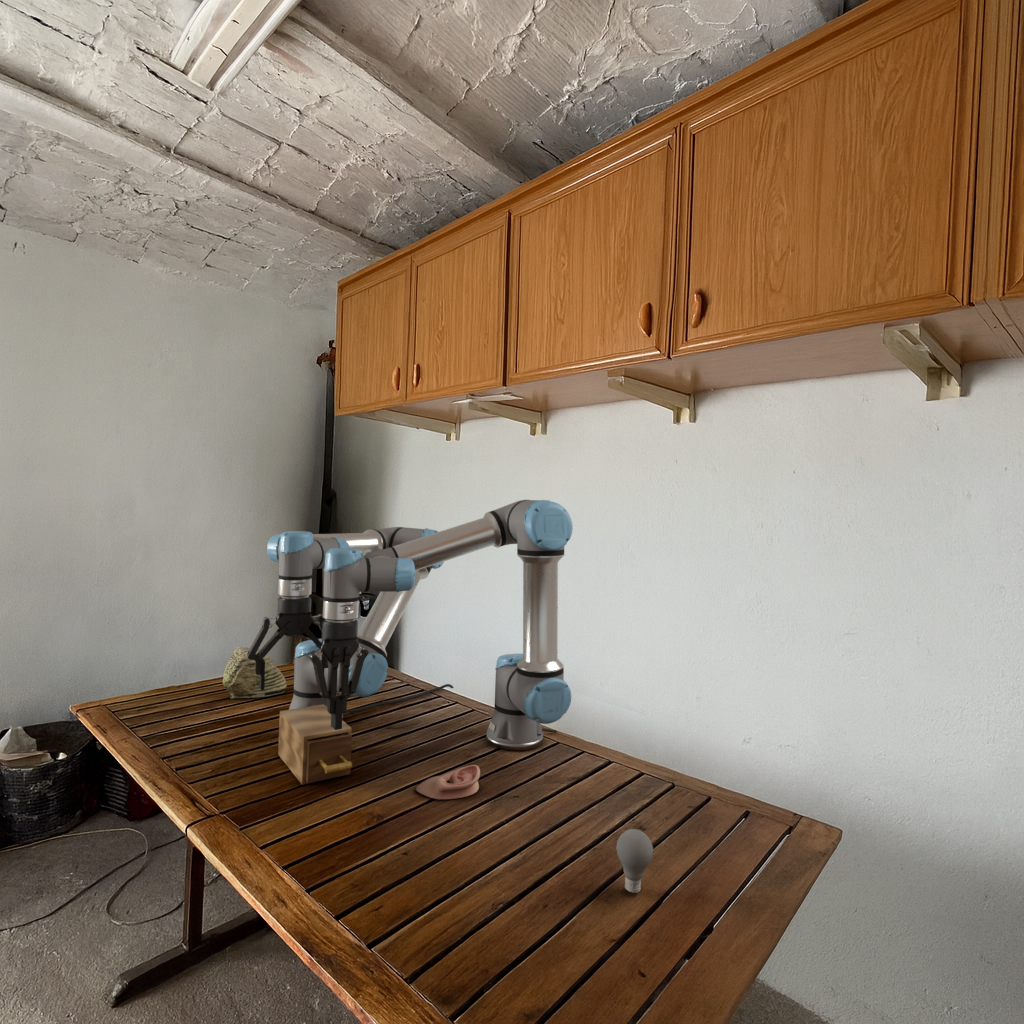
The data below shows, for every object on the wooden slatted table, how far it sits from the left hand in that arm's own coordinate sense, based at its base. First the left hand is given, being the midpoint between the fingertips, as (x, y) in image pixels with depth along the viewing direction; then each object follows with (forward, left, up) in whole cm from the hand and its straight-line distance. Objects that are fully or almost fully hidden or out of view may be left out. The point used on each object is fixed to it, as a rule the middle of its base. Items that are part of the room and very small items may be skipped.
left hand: (292, 684), depth 151 cm
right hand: (+2, +20, -5) cm, 20 cm away
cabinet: (-2, +6, -18) cm, 19 cm away
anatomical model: (-15, +38, -18) cm, 45 cm away
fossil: (-19, -50, -18) cm, 57 cm away
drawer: (-1, +11, -17) cm, 20 cm away
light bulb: (-10, +86, -18) cm, 89 cm away
